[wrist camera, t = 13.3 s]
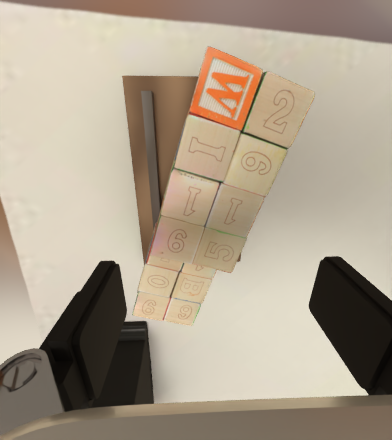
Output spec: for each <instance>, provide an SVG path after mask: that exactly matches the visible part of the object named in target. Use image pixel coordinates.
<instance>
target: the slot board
mask: <svg viewBox="0 0 392 440" xmlns="http://www.w3.org/2000/svg"><path fill="white" fill-rule="evenodd" d="M122 77H123V86H124V95H125V103H126V112H127V121H128V129H129V138H130V147H131V155H132V164H133V173H134V181H135V190H136V199H137V207H138V216H139V225H140V233H141V242H142V251H143V259H144V265H145V261H146V257H147V253H148V249H149V245H150V241H151V238H152V234H153V231H154V228H155V224H156V222H158V218H159V214H160V210H161V206H162V202H163V199H164V194H165V190H166V187H167V183H168V180H169V174H170V171H171V167H172V164H173V160H174V157H175V154H176V150H177V147H178V143H179V140H180V136H181V133H182V129H183V126H184V122H185V119H186V117H187V114H188V111H189V107H190V104H191V100H192V97H193V94H194V90H195V87H196V84H197V80H198V77H180V76H122ZM240 258H241V253H240V255H239V257H238V260H237V262H238V261H240Z"/></svg>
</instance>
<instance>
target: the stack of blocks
mask: <svg viewBox="0 0 392 440" xmlns="http://www.w3.org/2000/svg"><path fill="white" fill-rule="evenodd" d="M314 96H315V93H314V92H313V91H311V90H309V89H306V88H304V87H302V86H300V85H297V84H295V83H293V82H291V81H289V80H286V79H284V78H282V77H280V76H278V75H276V74H274V73H271V72H269V71H267V72H265V73H263V70H262V69H260V68H258V67H257V66H255V65H252V64H250V63H248V62H245V61H243V60H241V59H238V58H236V57H234V56H231V55H229V54H227V53H224V52H222V51H220V50H217V49H215V48H212V47H209V46H208V47H207V49H206V52H205V56H204V59H203V63H202V67H201V70H200V73H199V77H198V80H197V84H196V87H195V90H194V94H193V97H192V100H191V104H190V107H189V111H188V114H187V117H186V119H185V122H184V126H183V129H182V133H181V136H180V140H179V143H178V147H177V150H176V154H175V157H174V160H173V164H172V167H171V171H170V174H169V180H168V183H167V187H166V190H165V194H164V199H163V202H162V206H161V210H160V214H159V218H158V222H156V224H155V228H154V231H153V234H152V238H151V241H150V245H149V249H148V253H147V257H146V261H145V265H144V268H143V272H142V275H141V279H140V283H139V287H138V290H137V293H138V295H137V299H136V302H135V306H134V310H133V314H132V315H134V316H139V317H144V318H149V319H154V320H159V321H162V320H164V321H168V322H173V323H178V324H183V325H189V326H192V325H193V323H194V321H195V318H196V316H197V314H198V311H199V309H200V306H201V304H202V303H203V301H204V298H205V296H206V294H207V291H208V289H209V286H210V284H211V282H212V279H213V277H214V275H215V273H216V270H221V271H224V272H228V273H231V272H232V271H233V269H234V267H235V264H236V262H237V260H238V257H239V255H240V253H241V251H242V249H243V247H244V244H245V242H246V240H247V238H246V237H247V235H248V233H249V231H250V229H251V227H252V225H253V223H254V220H255V218H256V215H257V213H258V212H259V209H260V207H261V205H262V203H263V200H264V197H266V196H267V194H268V192H269V190H270V188H271V186H272V184H273V182H274V180H275V178H276V175H277V173H278V171H279V169H280V167H281V165H282V162H283V160H284V158H285V156H286V154H287V149H288V148H289V147H290V146H291V145H292V143H293V141H294V139H295V137H296V134H297V132H298V130H299V128H300V126H301V124H302V122H303V120H304V118H305V116H306V114H307V112H308V109H309V107H310V105H311V103H312V101H313V99H314Z"/></svg>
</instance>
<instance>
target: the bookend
mask: <svg viewBox="0 0 392 440" xmlns="http://www.w3.org/2000/svg"><path fill="white" fill-rule="evenodd" d="M150 364H151V361H150V352H149V343H148V330H147V323H146V322H124V324H123V327H122V330H121V333H120V336H119V339H118V342H117V345H116V348H115V351H114V354H113V357H112V360H111V364H110V367H109V370H108V373H107V376H106V379H105V382H104V385H103V388H102V391H101V394H100V396H99V398H98V399H94V401H93V404H92V407H91V408H97V407H111V406H127V405H142V404H154V400H153V385H152V374H151V365H150Z"/></svg>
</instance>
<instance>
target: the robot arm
mask: <svg viewBox="0 0 392 440" xmlns="http://www.w3.org/2000/svg"><path fill="white" fill-rule="evenodd" d="M309 309H310V312H311V313H312V315H313V316H314V318H315V319H316V321H317V322H318V324H319V325H320V327H321V328H322V330H323V331H324V333H325V334H326V336H327V337H328V339H329V340H330V342H331V343H332V345H333V346H334V348H335V350H336V351H337V353H338V354H339V356H340V357H341V359H342V360H343V362H344V363H345V365H346V366H347V368H348V369H349V371H350V372H351V374H352V375H353V377H354V378H355V380H356V381H357V383H358V384H359V385H360V386H361V387H362V388H363V389H365V390H366V391H367V393H368V394H369V395H368V396H337V397H307V398H281V399H255V400H229V401H206V402H184V403H162V404H142V405H127V406H111V407H97V408H91V407H92V404H93V401H94V399H98V398H99V396H100V394H101V391H102V388H103V385H104V382H105V379H106V376H107V373H108V370H109V367H110V364H111V360H112V357H113V354H114V351H115V348H116V345H117V342H118V339H119V336H120V333H121V330H122V327H123V324H124V321H125V318H126V314H127V308H126V302H125V296H124V290H123V284H122V278H121V272H120V266H119V264H115V261H100V262H99V264H98V265H97V267H96V268H95V270H94V271H93V273H92V275H91V276H90V278H89V279H88V281H87V282H86V284H85V285H84V287H83V288H82V290H81V291H79V292H77V293H76V295H75V296H74V297H73V299H72V300H71V302H70V303H69V305H68V306H67V308H66V309H65V311H64V312H63V314H62V315H61V317H60V318H59V320H58V321H57V323H56V324H55V325H54V327H53V328H52V330H51V331H50V333H49V334H48V336H47V337H46V339H45V340H44V342H43V343H42V345H41V346H40V348H39V349H29V350H25V351H22V352H20V353H17V354H15V355H14V356H12V357H10V358H9V359H7V360H6V361H5V362H4V363H2V364H1V365H0V440H392V301H391V300H390V299H389V298H388V297H387V296H386V295H384V294H383V293H382V292H381V291H380V290H379V289H377V288H376V287H375V286H374V285H373V284H372V283H370V282H369V281H368V280H367V279H366V278H365V277H363V276H362V275H361V274H360V273H359V272H357V271H356V270H355V269H354V268H353V267H352V266H350V265H349V264H348V263H347V262H346V261H345V260H343V259H342V258H341V257H338V256H336V257H325V258H324V259H323V260H321V261H320V264H319V268H318V272H317V275H316V279H315V283H314V287H313V290H312V294H311V298H310V302H309Z"/></svg>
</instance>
